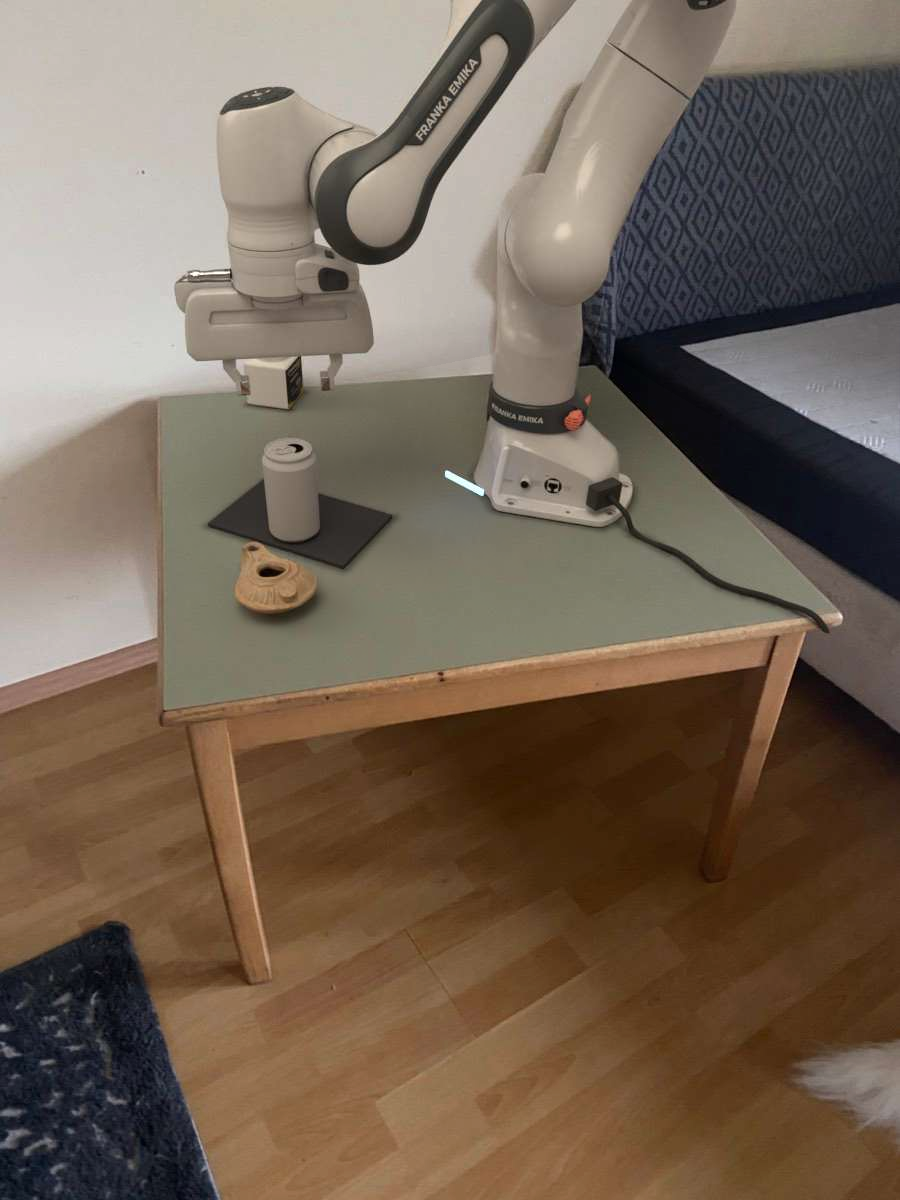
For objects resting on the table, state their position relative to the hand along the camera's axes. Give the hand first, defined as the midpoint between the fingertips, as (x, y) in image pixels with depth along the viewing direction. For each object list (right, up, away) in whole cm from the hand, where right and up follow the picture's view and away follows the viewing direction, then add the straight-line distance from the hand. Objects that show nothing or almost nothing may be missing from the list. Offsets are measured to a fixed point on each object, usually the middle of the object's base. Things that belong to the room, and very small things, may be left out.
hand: (286, 391), depth 100 cm
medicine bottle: (-10, +9, +42) cm, 44 cm away
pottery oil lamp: (-2, -23, +2) cm, 24 cm away
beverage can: (-1, -15, +12) cm, 19 cm away
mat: (-1, -14, +14) cm, 20 cm away
